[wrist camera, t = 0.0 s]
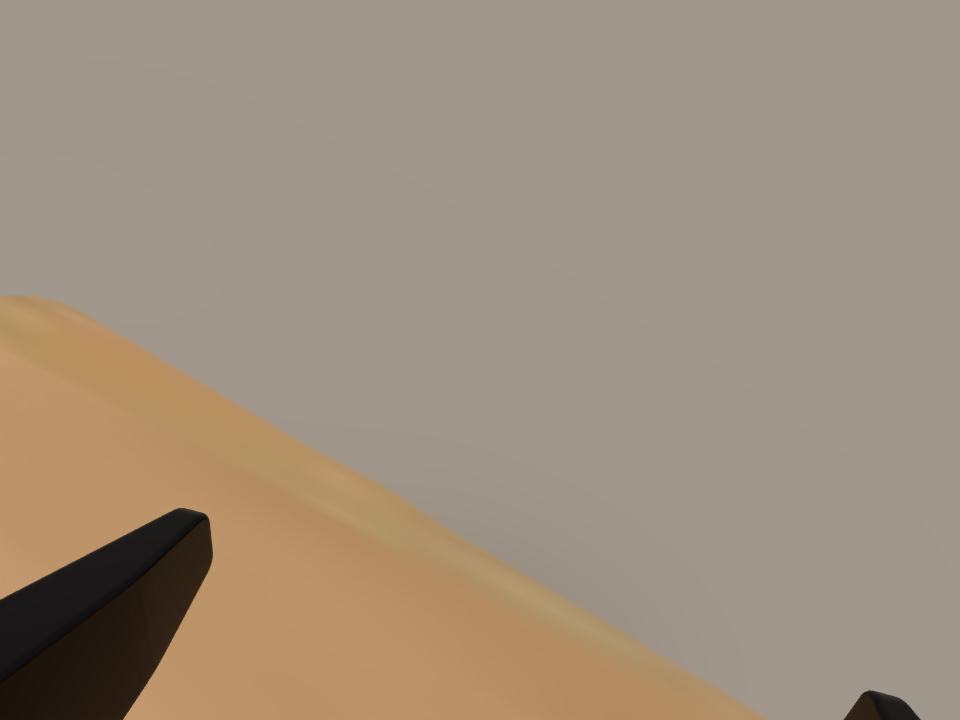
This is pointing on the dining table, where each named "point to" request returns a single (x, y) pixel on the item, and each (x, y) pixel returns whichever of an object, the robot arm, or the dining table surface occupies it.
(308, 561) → the dining table surface
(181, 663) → the dining table surface
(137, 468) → the dining table surface
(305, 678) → the dining table surface
